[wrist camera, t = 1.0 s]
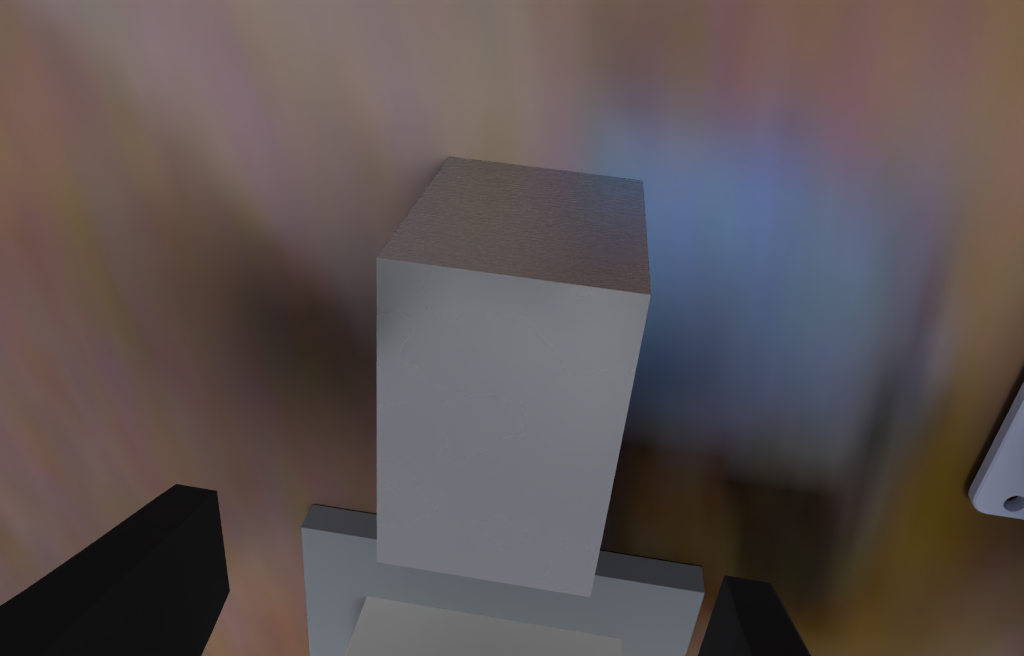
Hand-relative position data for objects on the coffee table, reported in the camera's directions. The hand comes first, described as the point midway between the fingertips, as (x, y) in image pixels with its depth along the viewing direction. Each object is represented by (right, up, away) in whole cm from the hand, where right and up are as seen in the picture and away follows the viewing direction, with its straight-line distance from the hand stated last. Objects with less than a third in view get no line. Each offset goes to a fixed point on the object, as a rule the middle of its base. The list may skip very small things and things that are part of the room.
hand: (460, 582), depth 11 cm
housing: (+1, +4, +8) cm, 10 cm away
